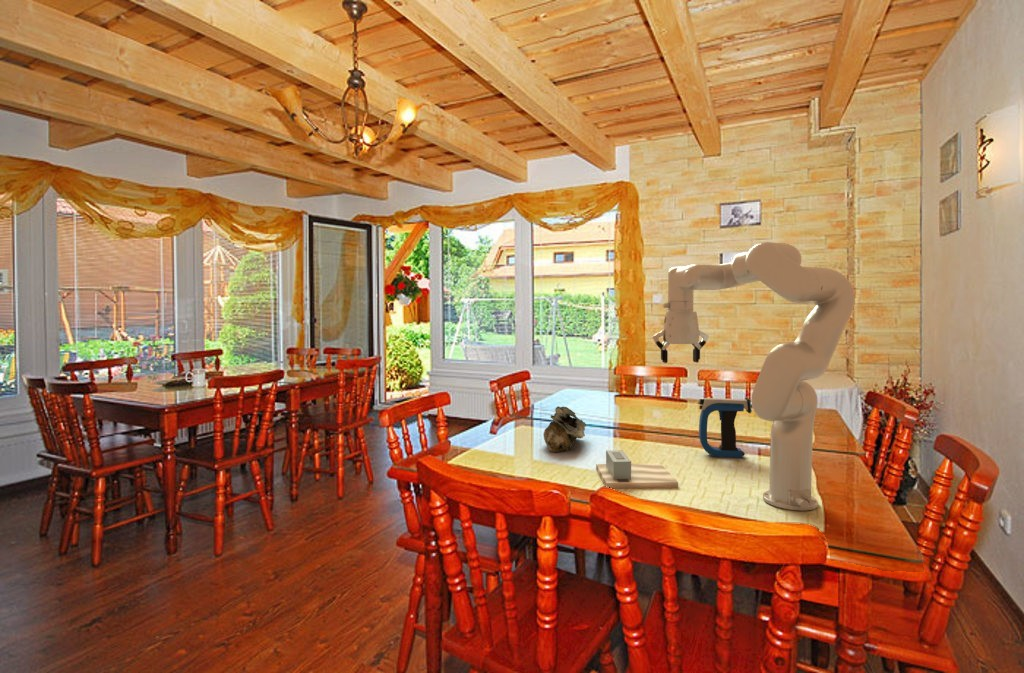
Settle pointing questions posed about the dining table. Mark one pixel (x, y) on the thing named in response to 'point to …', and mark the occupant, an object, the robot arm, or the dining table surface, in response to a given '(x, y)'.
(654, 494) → the dining table surface
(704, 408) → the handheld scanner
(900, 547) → the dining table surface
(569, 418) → the hollow geode rock
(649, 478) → the subfloor panel
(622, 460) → the block
